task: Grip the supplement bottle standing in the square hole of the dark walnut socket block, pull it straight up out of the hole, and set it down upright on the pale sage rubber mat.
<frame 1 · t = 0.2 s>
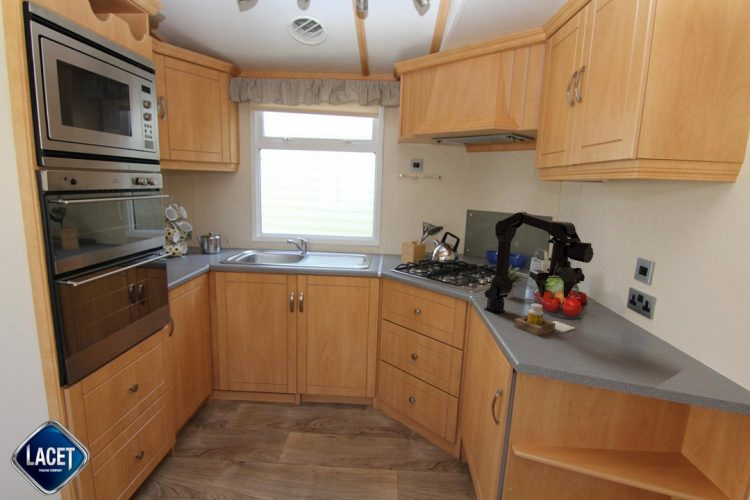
hand: (553, 297, 139), 14 cm above the worktop, tool pointing down, fingers open, 9 cm apart
mat: (559, 327, 147), on the worktop
house plant: (504, 297, 184), on the worktop
socket block: (533, 328, 145), on the worktop
supplement bottle: (533, 329, 145), resting in socket block
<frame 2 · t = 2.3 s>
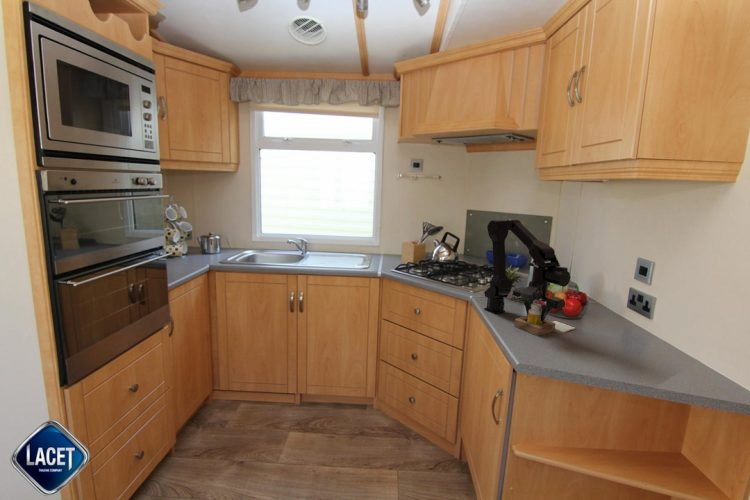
hand: (535, 318, 144), 4 cm above the worktop, tool pointing down, fingers closed on supplement bottle, 5 cm apart
supplement bottle: (533, 329, 145), resting in socket block, touching gripper
everything else where it was.
when the fingers open (6 cm above the worktop, at t = 7.3 s): supplement bottle drops 1 cm, resting on mat.
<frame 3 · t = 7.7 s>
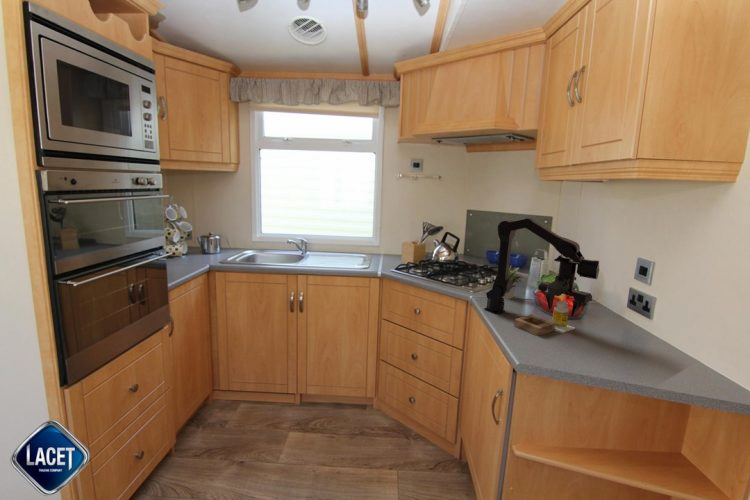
hand: (561, 312, 146), 6 cm above the worktop, tool pointing down, fingers open, 9 cm apart
supplement bottle: (558, 326, 147), resting on mat
everything else where it was.
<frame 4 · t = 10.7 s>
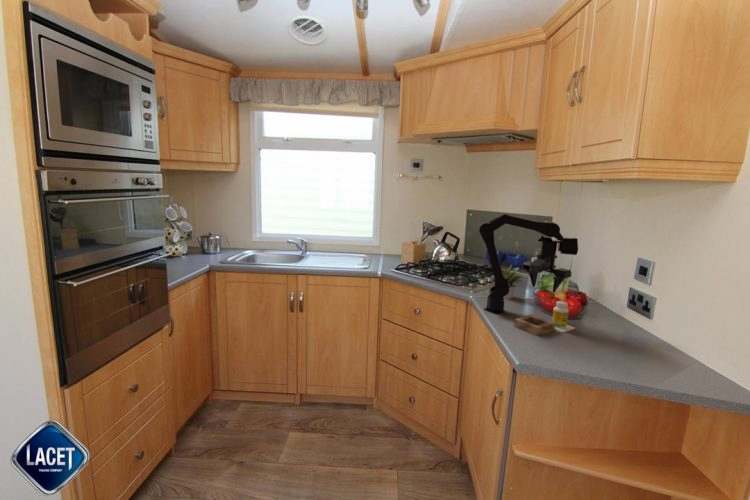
hand: (543, 289, 156), 12 cm above the worktop, tool pointing down, fingers open, 9 cm apart
nothing on the worktop moved.
at the end: supplement bottle 0.1 cm off-centre on the mat, point 0.3 cm above the mat's base; supplement bottle tilted 0°; the gripper is holding nothing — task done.
